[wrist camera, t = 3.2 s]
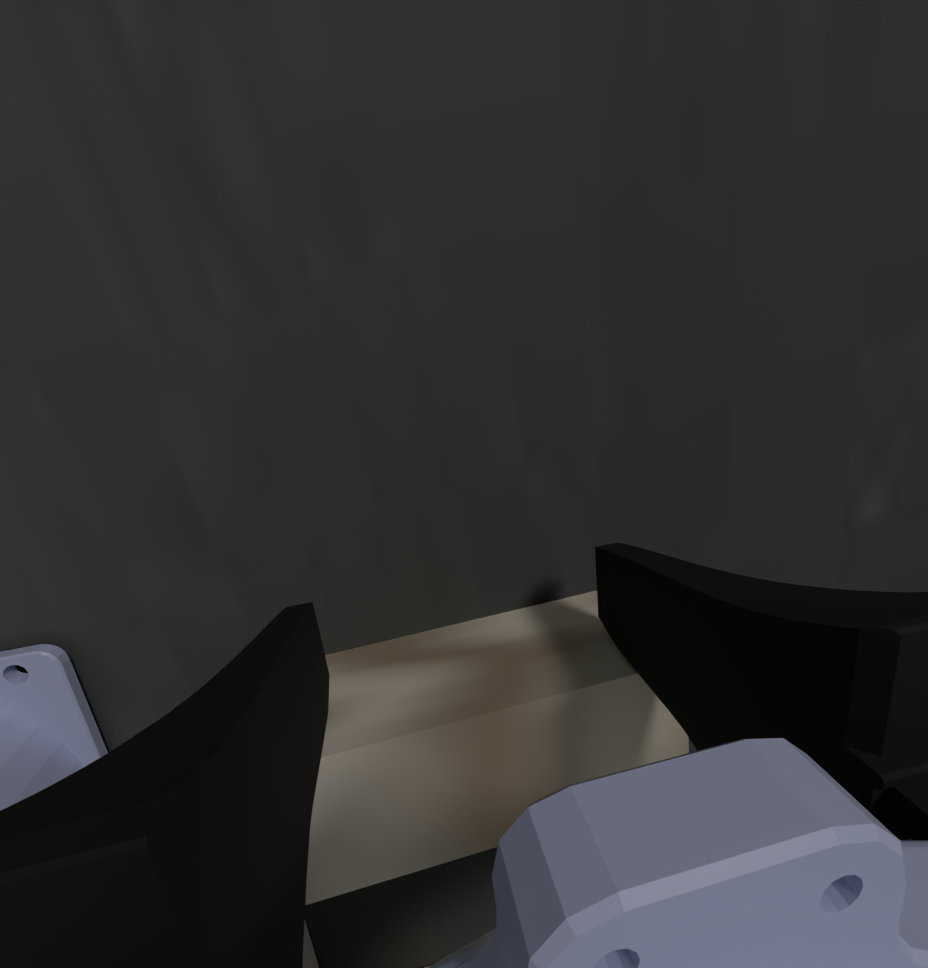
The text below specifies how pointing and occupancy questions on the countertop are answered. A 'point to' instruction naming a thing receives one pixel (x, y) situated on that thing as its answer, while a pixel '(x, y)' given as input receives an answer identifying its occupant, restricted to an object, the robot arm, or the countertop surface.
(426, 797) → the slat block
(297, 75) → the countertop surface
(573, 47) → the countertop surface
